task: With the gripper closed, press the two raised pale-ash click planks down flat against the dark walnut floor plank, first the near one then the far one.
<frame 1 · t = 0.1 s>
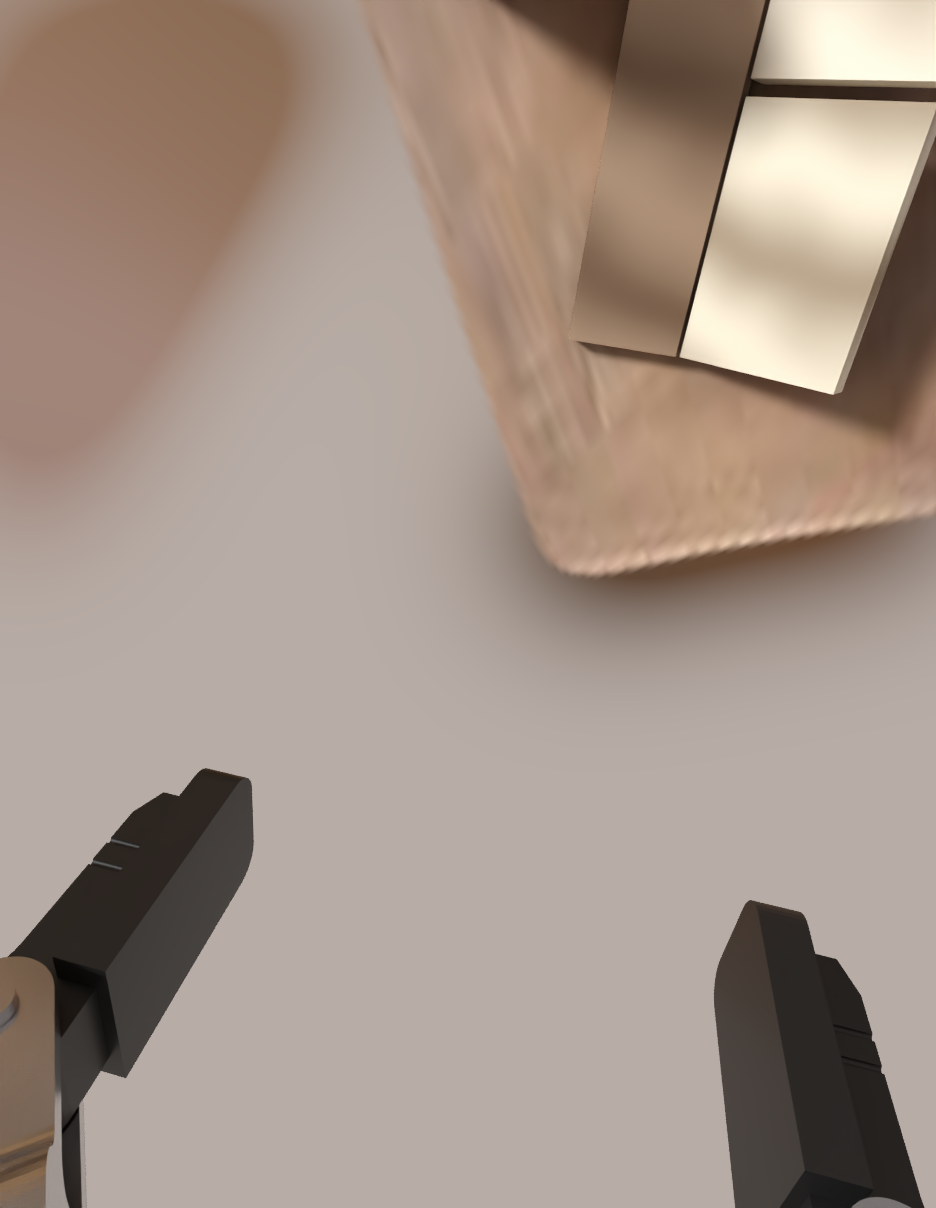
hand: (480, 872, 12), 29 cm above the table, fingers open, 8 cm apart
plank b: (795, 248, 30), point 2 cm above the table, hinge at 30.0°
laid plank: (677, 83, 30), on the table
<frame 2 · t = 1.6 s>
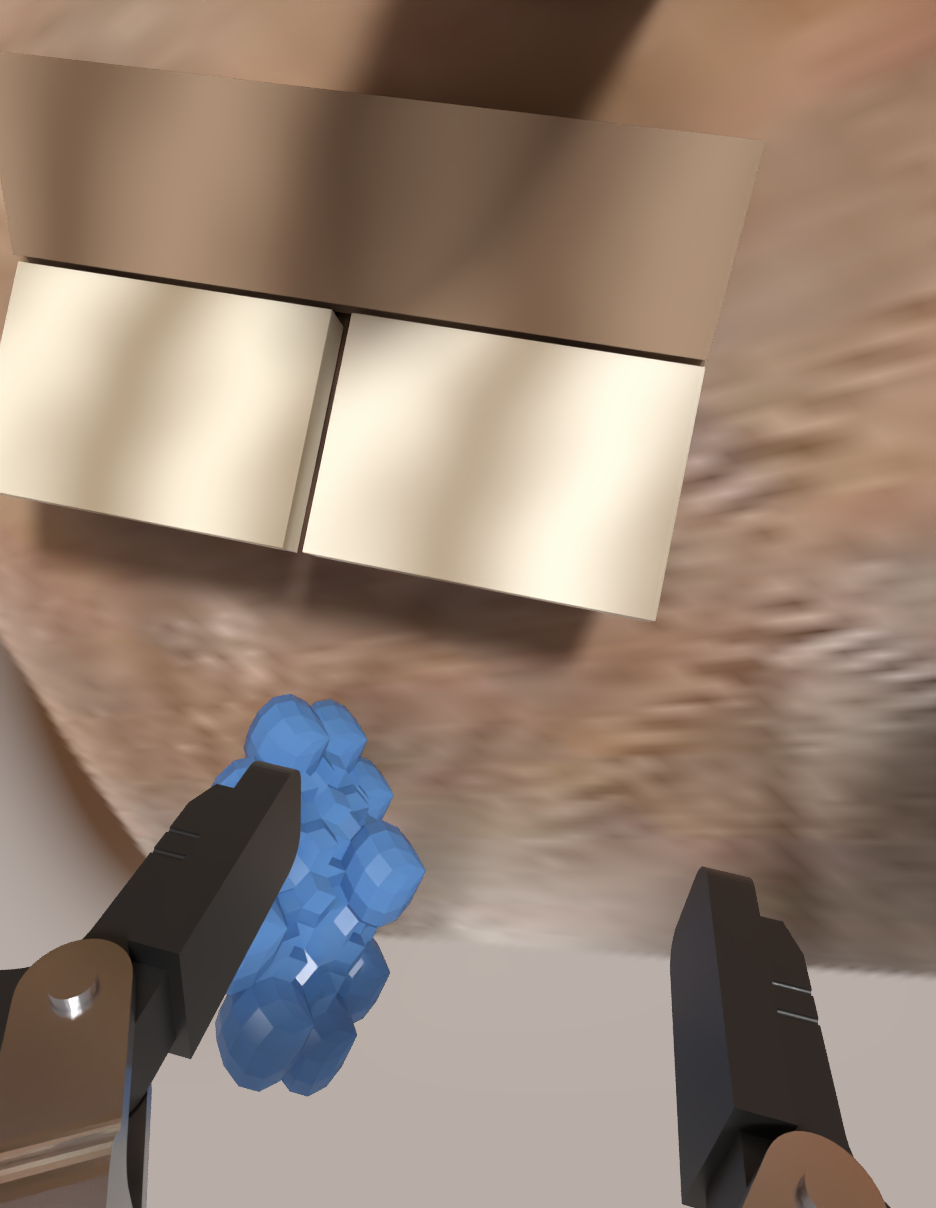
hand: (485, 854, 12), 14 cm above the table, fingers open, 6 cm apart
plank b: (157, 406, 22), point 2 cm above the table, hinge at 30.0°
plank a: (500, 466, 21), point 2 cm above the table, hinge at 30.0°
laid plank: (357, 205, 21), on the table
grapes: (386, 760, 30), on the table
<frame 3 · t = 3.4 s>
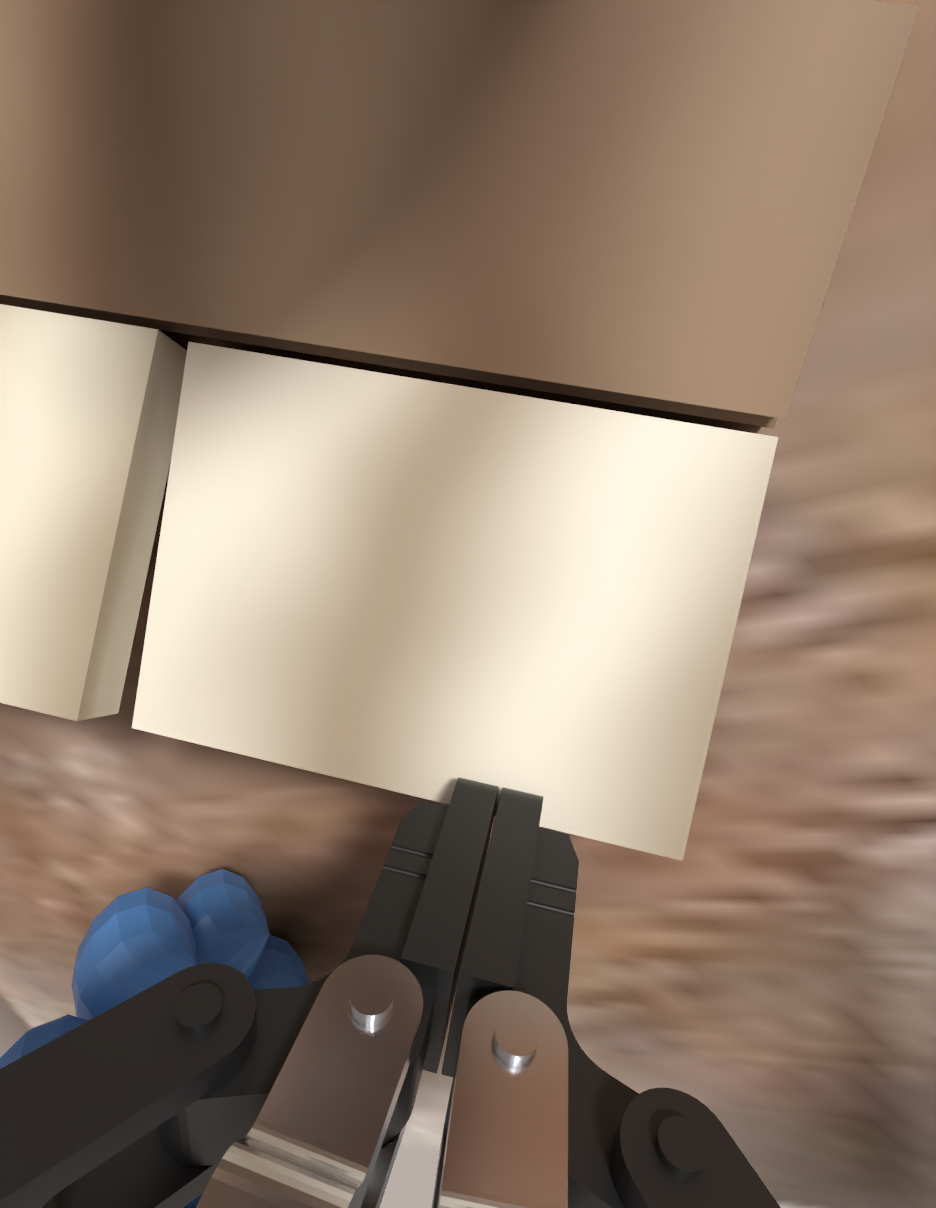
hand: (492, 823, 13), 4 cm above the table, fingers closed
plank a: (435, 592, 13), point 2 cm above the table, hinge at 24.0°, touching gripper
laid plank: (194, 155, 12), on the table
grapes: (310, 936, 22), on the table
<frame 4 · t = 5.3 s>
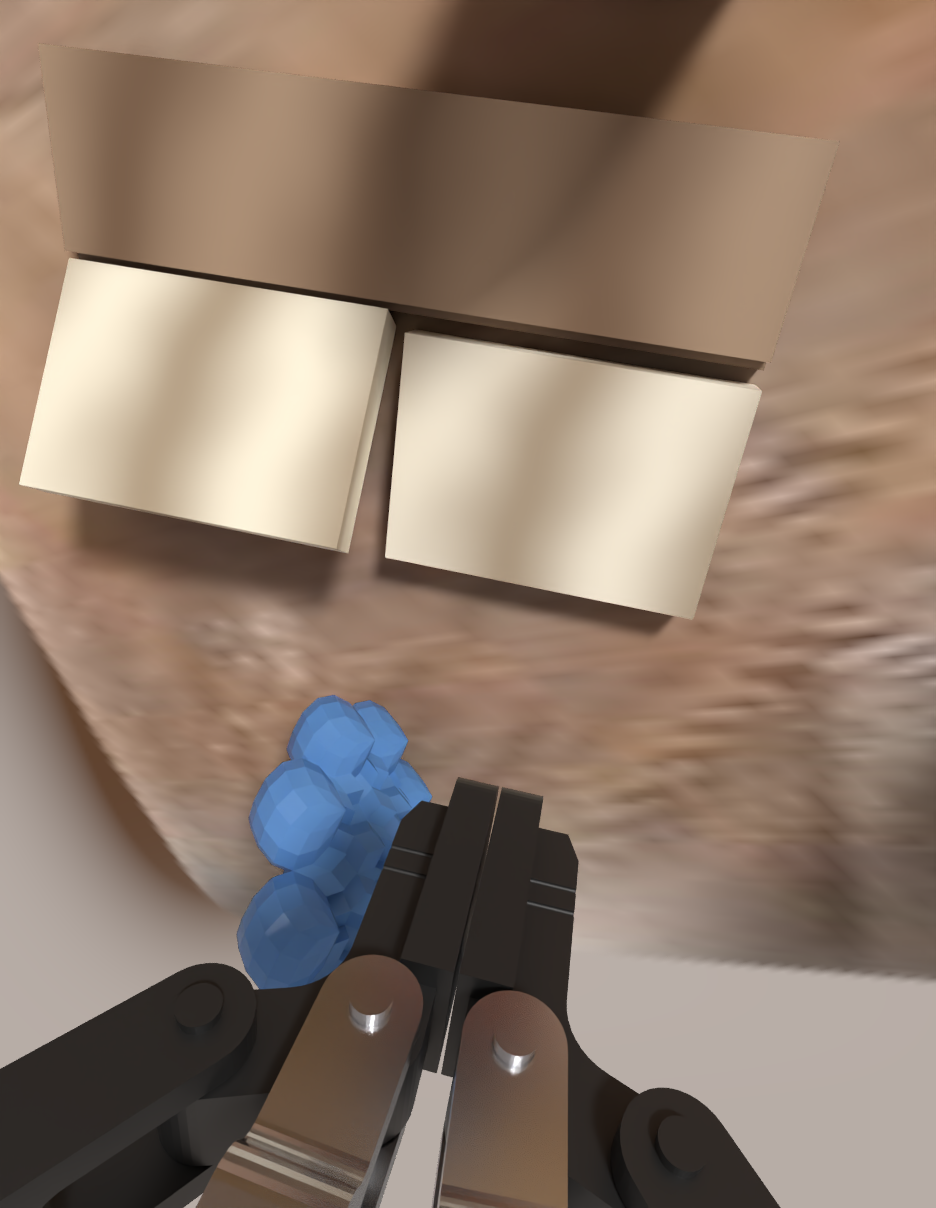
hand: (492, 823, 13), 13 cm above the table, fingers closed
plank b: (208, 405, 22), point 2 cm above the table, hinge at 30.0°
plank a: (556, 477, 22), point 1 cm above the table, hinge at 2.8°
laid plank: (415, 203, 20), on the table
grapes: (423, 762, 30), on the table
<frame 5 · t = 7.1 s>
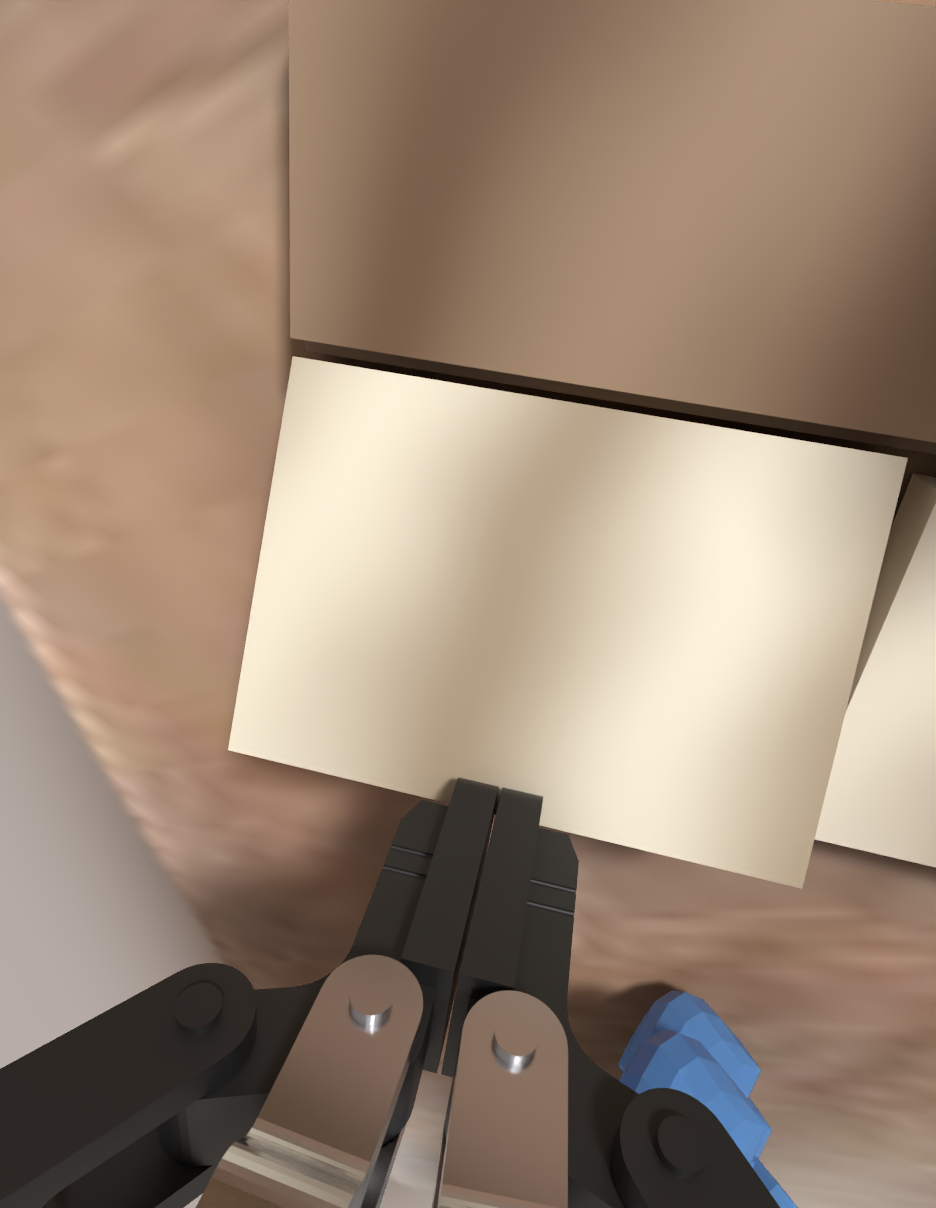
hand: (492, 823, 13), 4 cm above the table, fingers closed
plank b: (542, 612, 13), point 2 cm above the table, hinge at 23.9°, touching gripper
grapes: (732, 1052, 20), on the table
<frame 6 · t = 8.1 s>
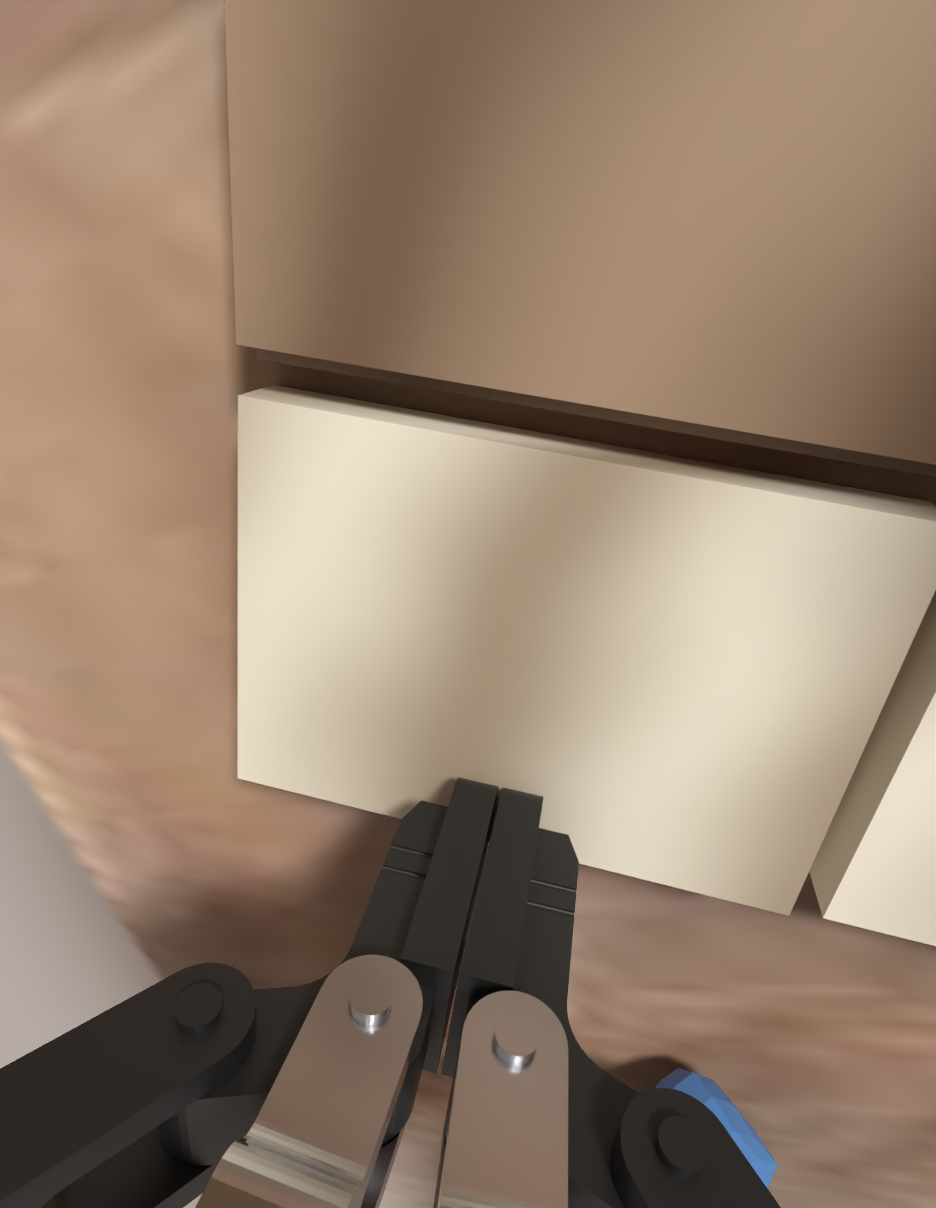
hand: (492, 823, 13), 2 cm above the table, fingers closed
plank b: (538, 657, 12), point 1 cm above the table, hinge at 4.2°
grapes: (742, 1129, 19), on the table
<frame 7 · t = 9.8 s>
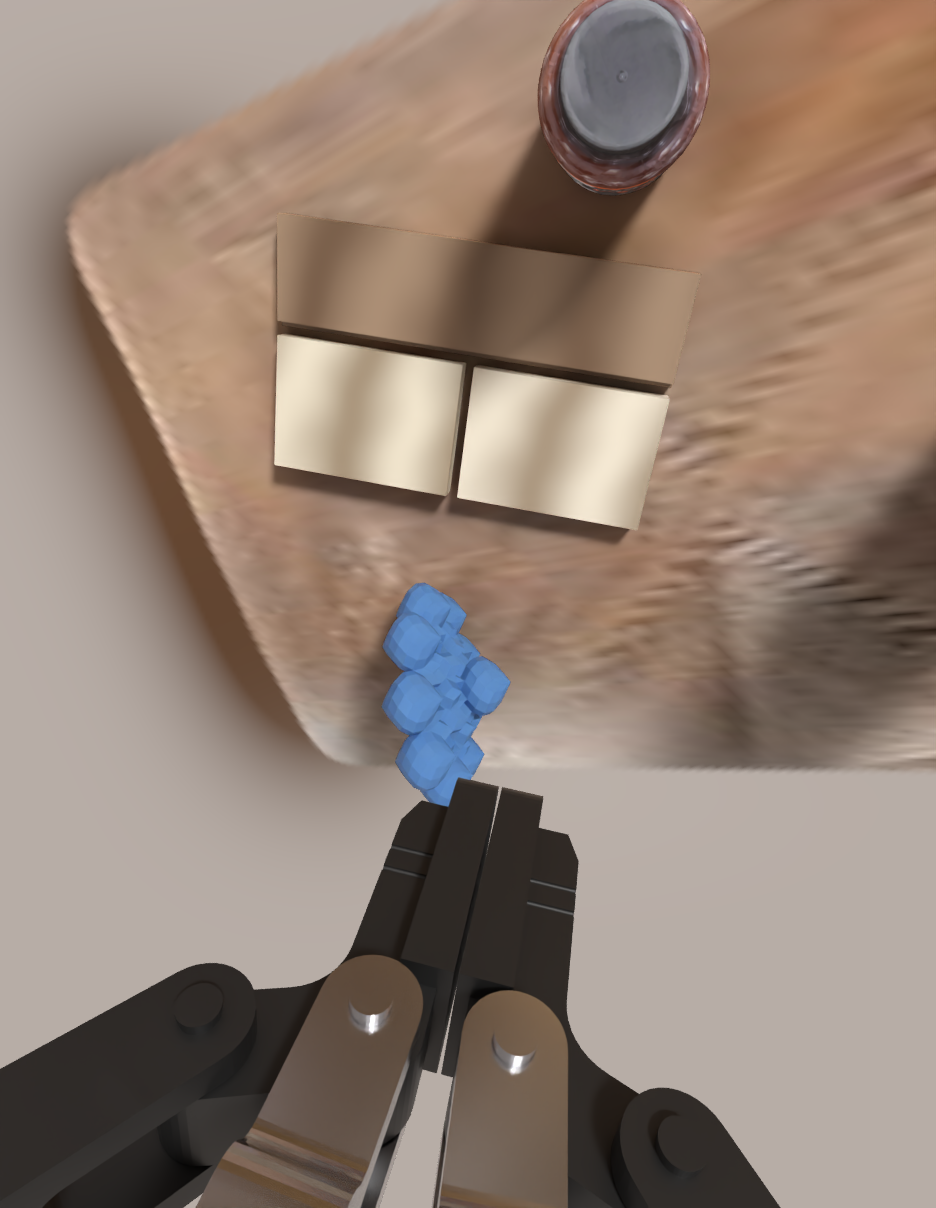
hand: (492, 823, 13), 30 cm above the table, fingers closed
plank b: (367, 415, 40), point 1 cm above the table, hinge at 4.1°
plank a: (558, 448, 39), point 1 cm above the table, hinge at 2.8°
supplement bottle: (619, 120, 33), on the table
laid plank: (480, 296, 37), on the table
grapes: (472, 636, 47), on the table
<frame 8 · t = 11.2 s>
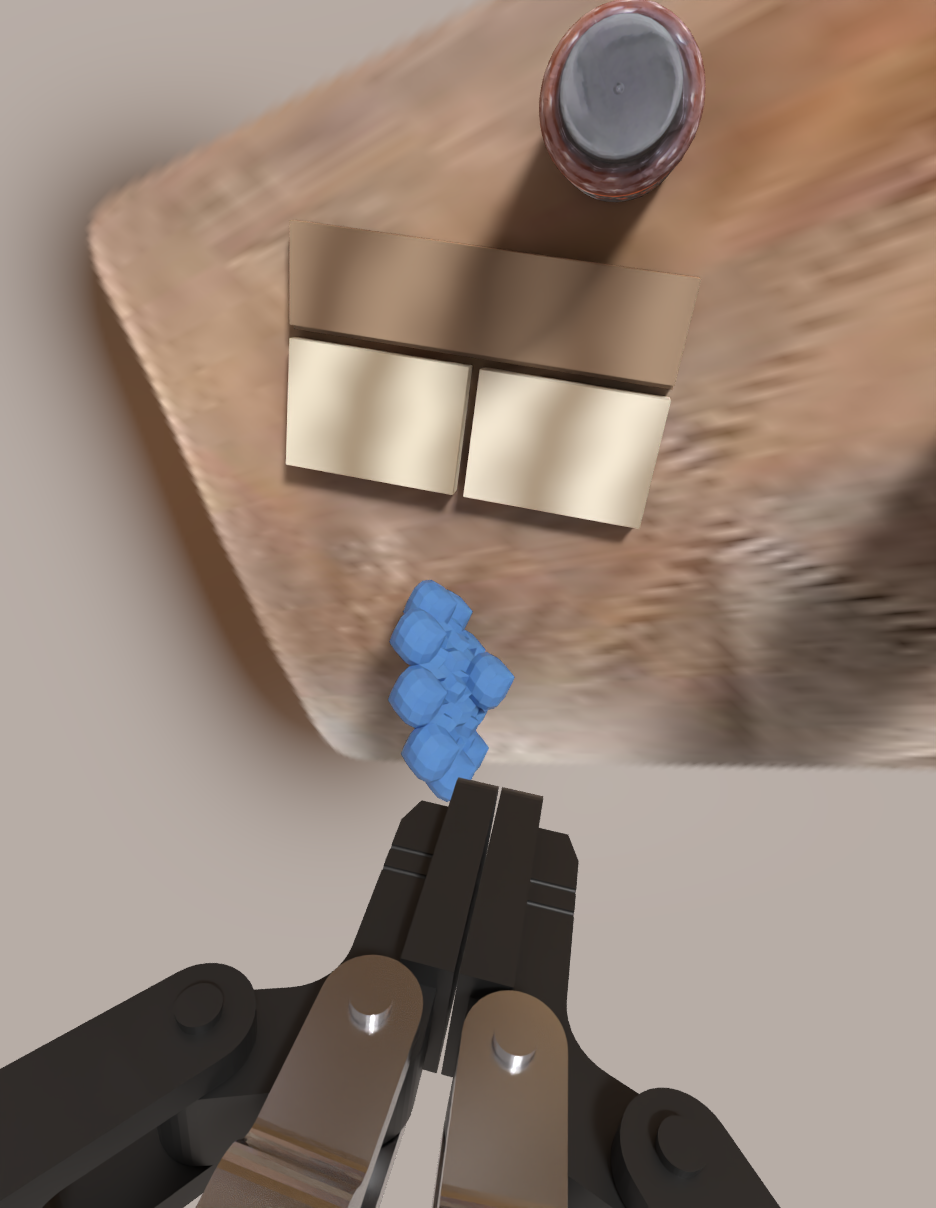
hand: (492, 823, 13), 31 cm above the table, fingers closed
plank b: (375, 416, 41), point 1 cm above the table, hinge at 4.1°
plank a: (562, 448, 40), point 1 cm above the table, hinge at 2.8°
supplement bottle: (622, 129, 34), on the table
laid plank: (486, 300, 38), on the table
grapes: (478, 633, 48), on the table
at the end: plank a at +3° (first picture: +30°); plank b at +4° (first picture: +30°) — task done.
